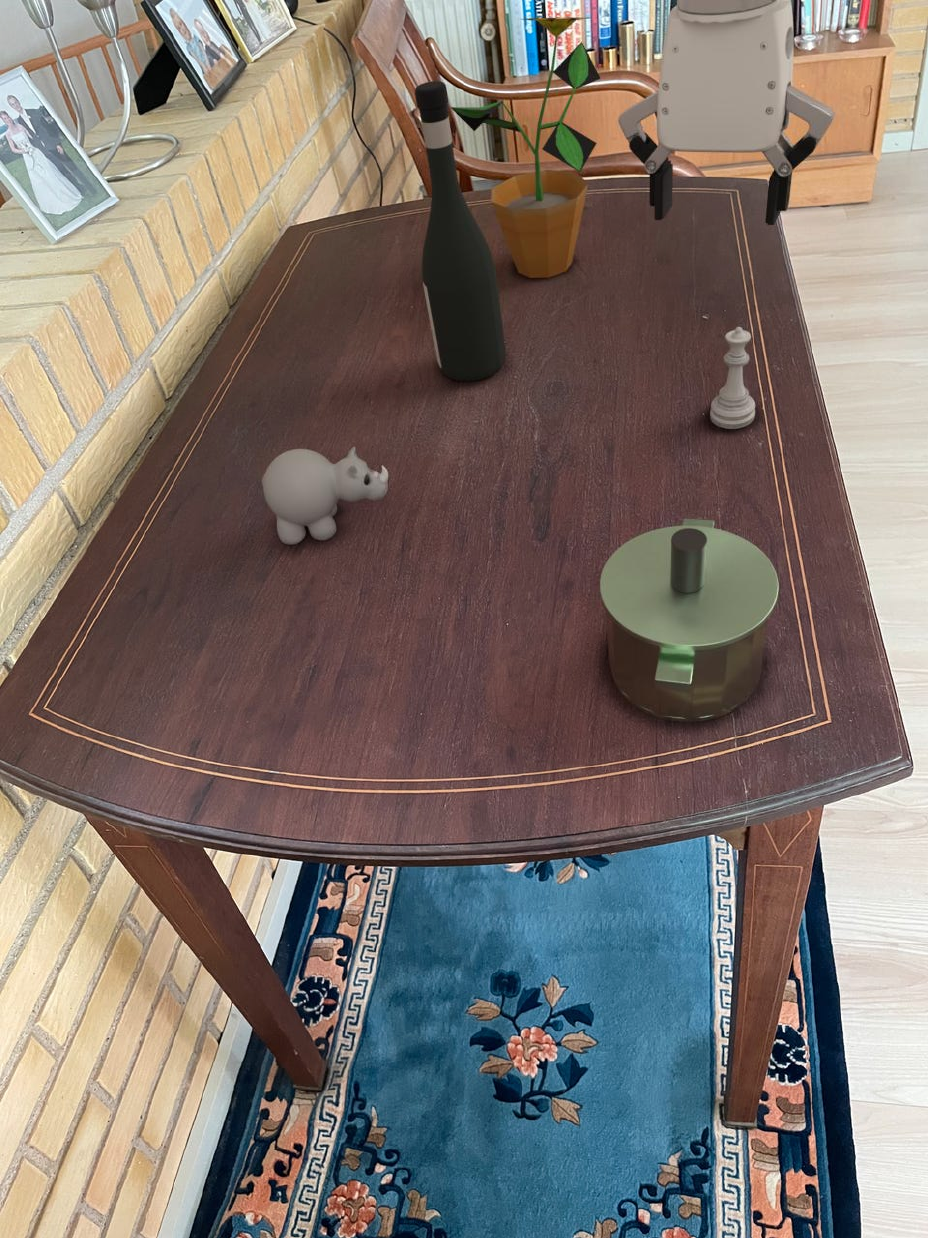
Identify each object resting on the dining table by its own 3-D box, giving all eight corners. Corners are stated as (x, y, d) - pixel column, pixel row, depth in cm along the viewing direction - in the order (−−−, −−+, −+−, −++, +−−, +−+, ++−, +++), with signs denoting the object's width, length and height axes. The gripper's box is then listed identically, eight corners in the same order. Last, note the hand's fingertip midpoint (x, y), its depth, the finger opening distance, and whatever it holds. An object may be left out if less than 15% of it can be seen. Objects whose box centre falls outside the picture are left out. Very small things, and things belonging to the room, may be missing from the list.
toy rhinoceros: (398, 537, 88) (379, 465, 82) (275, 555, 88) (248, 485, 82) (397, 492, 93) (380, 420, 87) (282, 509, 94) (256, 440, 88)
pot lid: (781, 542, 68) (788, 487, 65) (772, 666, 60) (780, 612, 57) (615, 530, 72) (613, 478, 68) (586, 646, 64) (582, 594, 60)
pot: (766, 596, 76) (776, 516, 70) (753, 762, 65) (763, 684, 59) (627, 584, 79) (625, 507, 73) (592, 740, 68) (587, 664, 62)
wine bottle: (426, 377, 108) (371, 97, 86) (464, 344, 112) (421, 69, 91) (482, 391, 104) (439, 101, 83) (520, 356, 108) (488, 72, 87)
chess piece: (748, 402, 95) (756, 312, 88) (759, 426, 92) (768, 335, 85) (705, 408, 95) (710, 319, 88) (714, 432, 92) (720, 341, 85)
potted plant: (641, 264, 120) (639, -6, 99) (515, 311, 116) (486, 40, 94) (571, 222, 132) (556, -26, 111) (454, 264, 128) (416, 14, 106)
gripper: (860, -35, 67) (828, 201, 79) (632, -21, 74) (635, 195, 86) (842, -6, 63) (811, 240, 75) (601, 6, 70) (608, 230, 82)
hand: (717, 215), depth 81 cm, fingers open, 9 cm apart
